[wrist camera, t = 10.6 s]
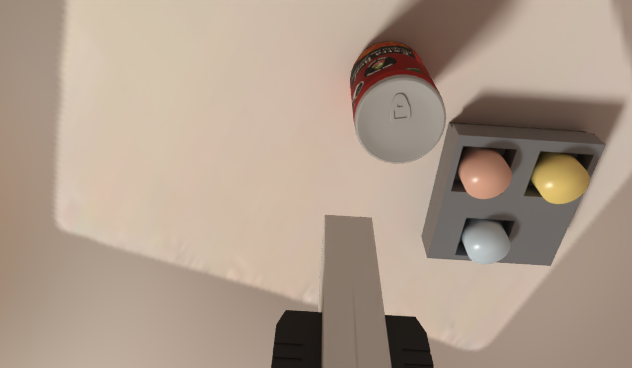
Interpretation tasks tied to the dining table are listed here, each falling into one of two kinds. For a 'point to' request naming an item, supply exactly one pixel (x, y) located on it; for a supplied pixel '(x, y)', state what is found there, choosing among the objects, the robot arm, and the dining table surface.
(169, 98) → the dining table surface
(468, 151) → the salmon pink rounded dome
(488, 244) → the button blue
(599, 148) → the button panel
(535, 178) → the button mustard
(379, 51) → the canned food
